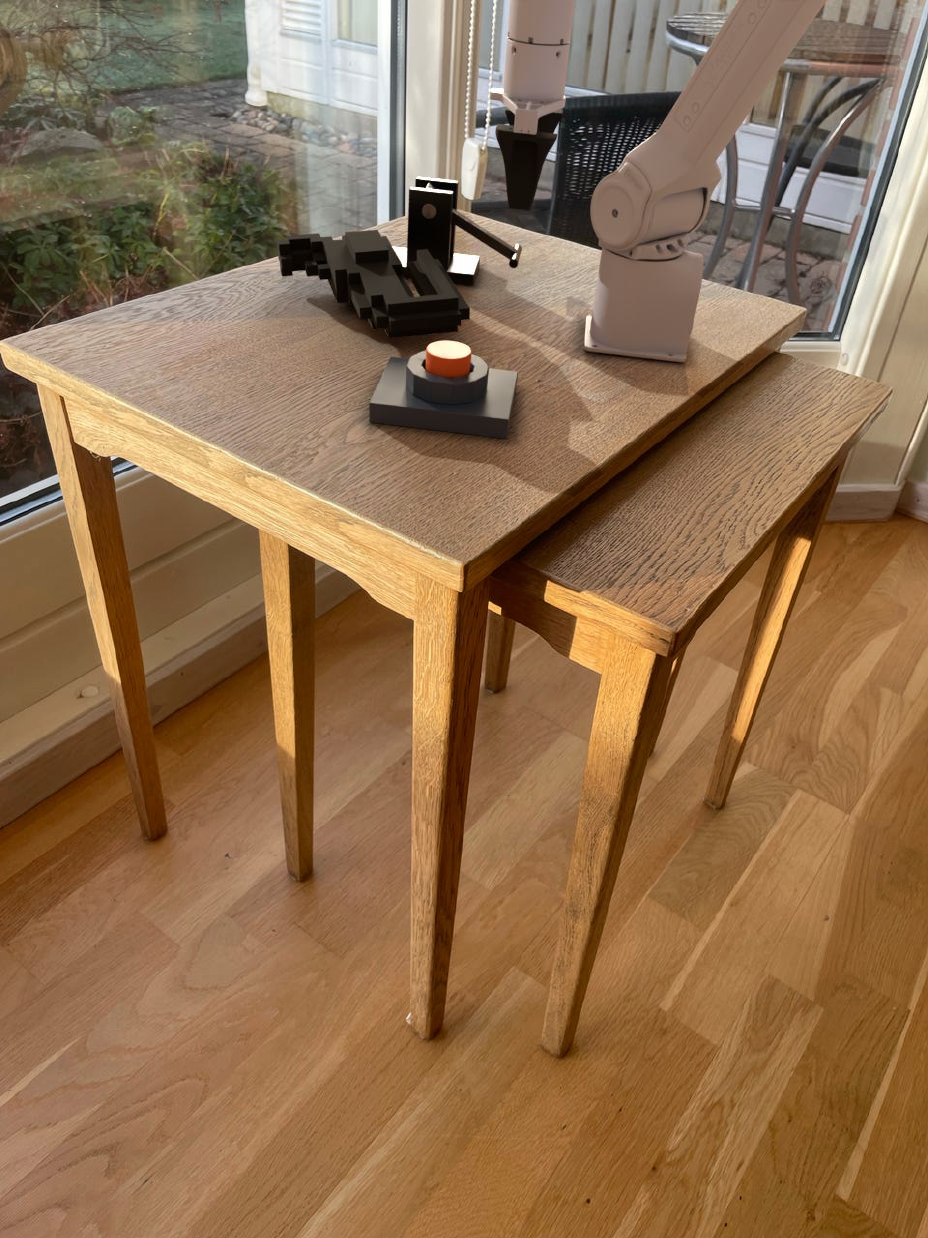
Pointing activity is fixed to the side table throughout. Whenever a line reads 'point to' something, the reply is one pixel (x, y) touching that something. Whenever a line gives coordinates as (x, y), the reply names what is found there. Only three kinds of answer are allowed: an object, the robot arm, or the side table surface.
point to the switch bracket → (436, 229)
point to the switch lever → (485, 236)
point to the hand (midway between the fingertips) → (523, 197)
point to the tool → (379, 282)
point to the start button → (448, 359)
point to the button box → (445, 398)
